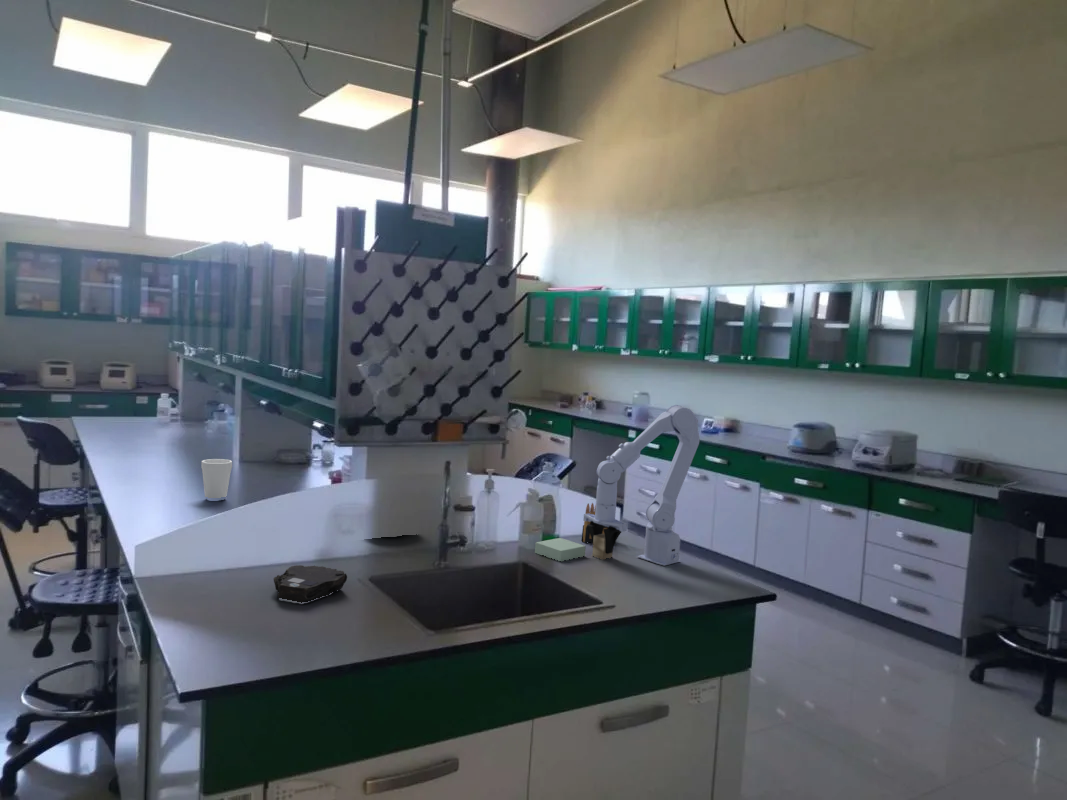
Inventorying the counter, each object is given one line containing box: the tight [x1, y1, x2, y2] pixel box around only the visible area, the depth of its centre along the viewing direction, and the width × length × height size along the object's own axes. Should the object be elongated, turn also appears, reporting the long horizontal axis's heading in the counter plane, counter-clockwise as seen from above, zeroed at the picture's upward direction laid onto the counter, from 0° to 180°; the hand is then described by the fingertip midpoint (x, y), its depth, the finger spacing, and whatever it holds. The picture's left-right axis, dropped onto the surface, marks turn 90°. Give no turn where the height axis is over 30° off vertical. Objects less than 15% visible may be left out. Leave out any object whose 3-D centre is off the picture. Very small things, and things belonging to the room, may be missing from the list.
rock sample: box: [273, 564, 348, 603], centre depth 171 cm, size 18×16×5 cm
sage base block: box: [534, 537, 586, 562], centre depth 215 cm, size 10×10×3 cm
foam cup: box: [200, 458, 233, 498], centre depth 255 cm, size 10×9×13 cm
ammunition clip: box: [581, 502, 609, 544], centre depth 233 cm, size 11×2×12 cm, turn 127°
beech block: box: [591, 534, 614, 560], centre depth 216 cm, size 4×4×6 cm
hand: (602, 550), depth 216 cm, fingers closed on beech block, 4 cm apart
